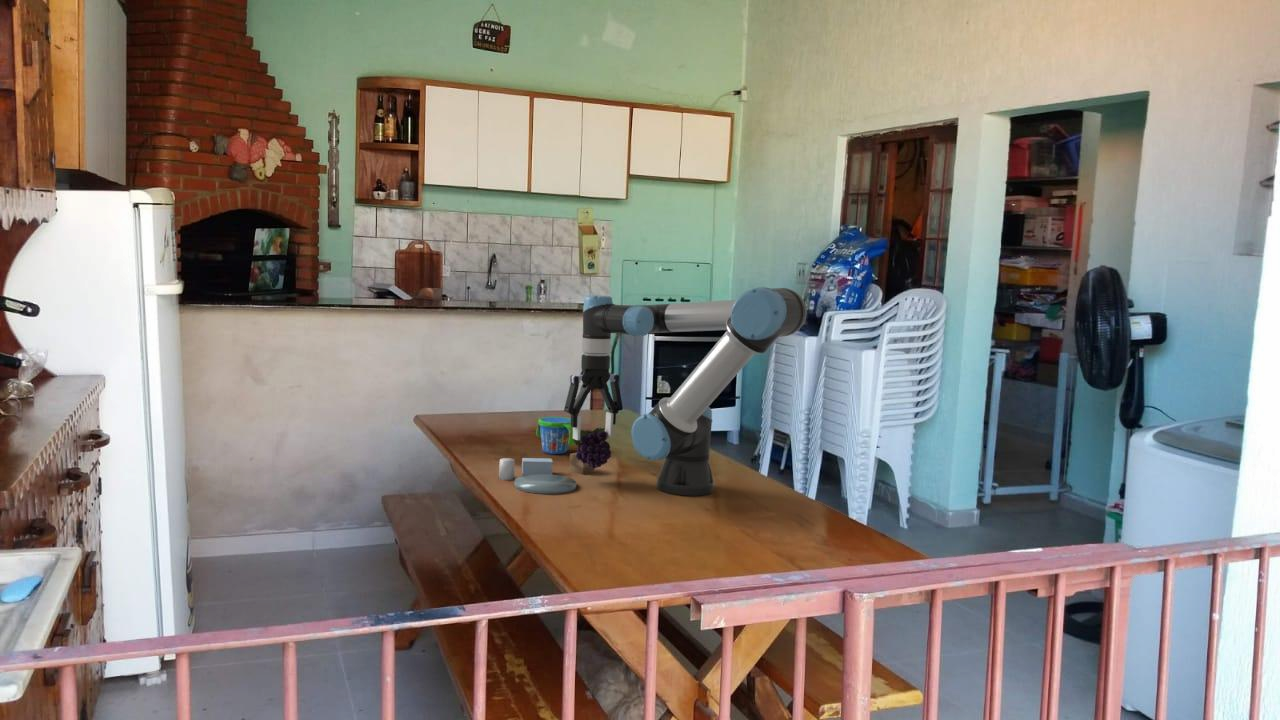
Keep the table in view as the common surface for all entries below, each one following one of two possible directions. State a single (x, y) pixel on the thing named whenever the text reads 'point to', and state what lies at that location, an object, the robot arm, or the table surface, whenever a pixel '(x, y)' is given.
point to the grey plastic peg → (506, 469)
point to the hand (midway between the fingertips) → (592, 438)
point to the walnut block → (579, 466)
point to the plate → (545, 484)
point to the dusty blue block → (536, 466)
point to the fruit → (593, 447)
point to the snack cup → (555, 434)
